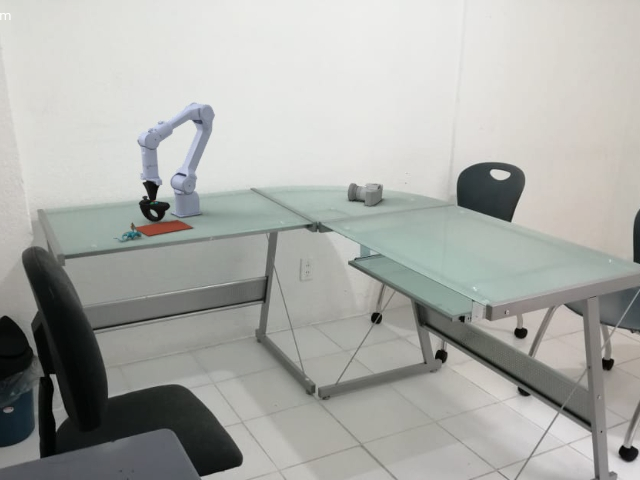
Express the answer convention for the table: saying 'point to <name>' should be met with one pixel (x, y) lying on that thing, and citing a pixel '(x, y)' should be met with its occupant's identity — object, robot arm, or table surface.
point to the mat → (163, 228)
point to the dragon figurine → (131, 233)
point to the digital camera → (366, 193)
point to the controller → (153, 205)
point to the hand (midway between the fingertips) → (152, 200)
